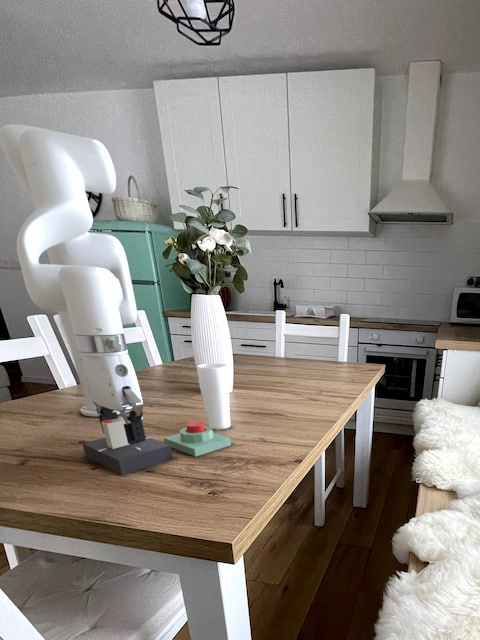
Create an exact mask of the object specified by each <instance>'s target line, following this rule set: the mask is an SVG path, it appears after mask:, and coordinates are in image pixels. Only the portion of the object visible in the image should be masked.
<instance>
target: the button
mask: <svg viewBox="0 0 480 640" xmlns="http://www.w3.org/2000/svg"><path fill="white" fill-rule="evenodd" d="M204 426H205V423H204V422H202V421H191V422H188V423H186V425H185V427H187V432H188V433H200V432H203V431H205V427H204Z"/></svg>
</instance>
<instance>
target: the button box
mask: <svg viewBox="0 0 480 640" xmlns="http://www.w3.org/2000/svg"><path fill="white" fill-rule="evenodd" d="M204 427H205V431H203V432H200V433H188V432H187V427H186V426H185V427H183V428H181V429H179V433H176V434H173V435H169V436H165V437H163V441H164V442H163V443H166V444H168V445H170V448H171V449H175V450H177V451H180V452H183V453H185V454H188V455H190V456H193V457H196V458H197V457H198V456H199V457H200V456H203V455H205V454H208V453H212V452H214V451H217V450H220V449H224V448H226V447H229V446H231V445H232V439H231V437H229V436H225V435H223V434H220V433H216V432H214V431H213V429H212V428H211V427H209V426H208V425H204Z"/></svg>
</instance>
